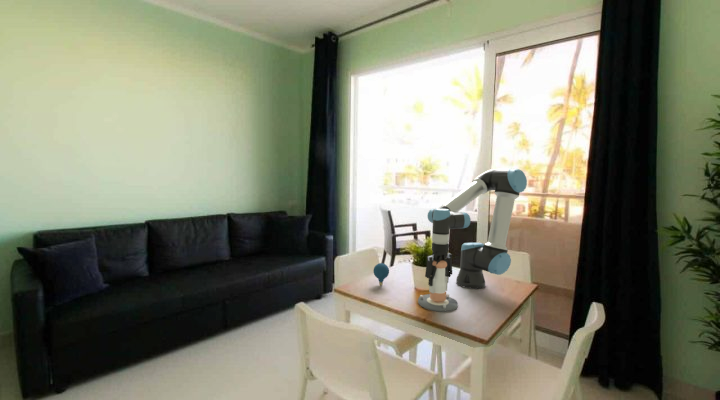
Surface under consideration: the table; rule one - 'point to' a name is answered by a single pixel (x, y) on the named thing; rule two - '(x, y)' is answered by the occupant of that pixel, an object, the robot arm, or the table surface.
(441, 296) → the pepper shaker
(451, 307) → the stud plate
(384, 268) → the light bulb
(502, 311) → the table surface
